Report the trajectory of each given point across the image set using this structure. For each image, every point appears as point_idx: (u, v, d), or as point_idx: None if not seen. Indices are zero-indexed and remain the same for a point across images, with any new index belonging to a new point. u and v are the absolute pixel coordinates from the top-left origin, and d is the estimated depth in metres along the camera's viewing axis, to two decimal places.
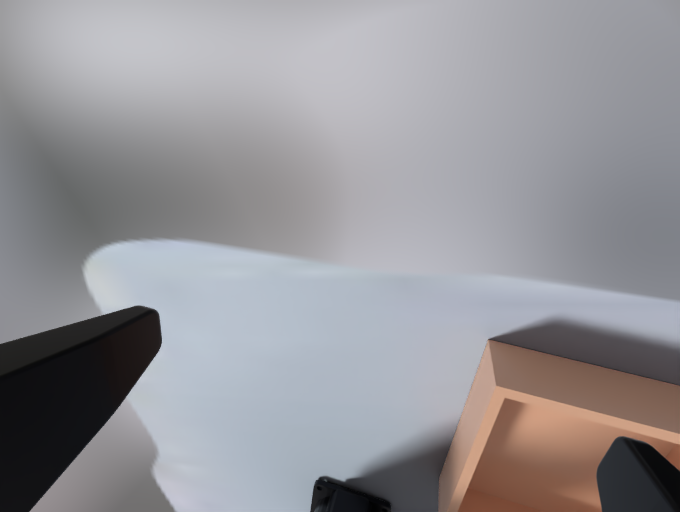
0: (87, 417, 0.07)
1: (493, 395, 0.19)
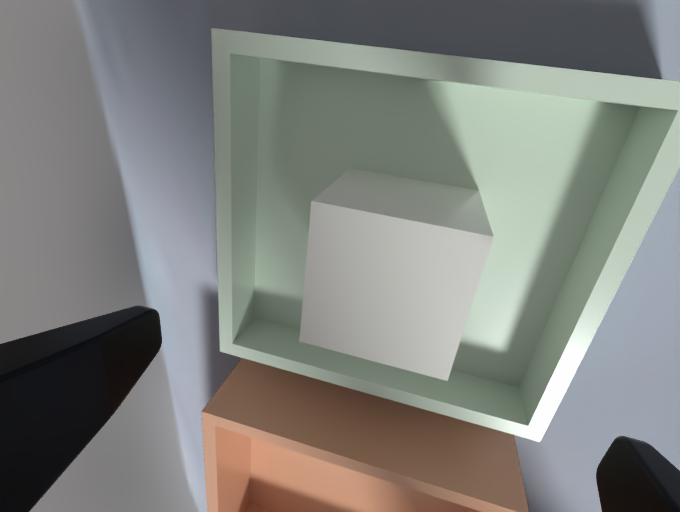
0: (87, 417, 0.07)
1: None
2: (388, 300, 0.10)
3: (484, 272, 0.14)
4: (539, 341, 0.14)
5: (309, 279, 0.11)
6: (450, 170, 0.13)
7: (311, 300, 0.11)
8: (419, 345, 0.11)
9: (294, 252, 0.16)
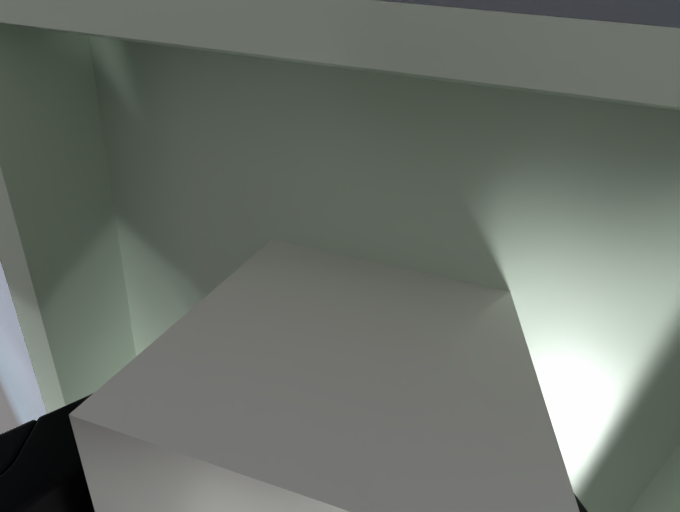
0: None
1: None
2: None
3: None
4: None
5: None
6: (455, 253, 0.07)
7: None
8: None
9: None
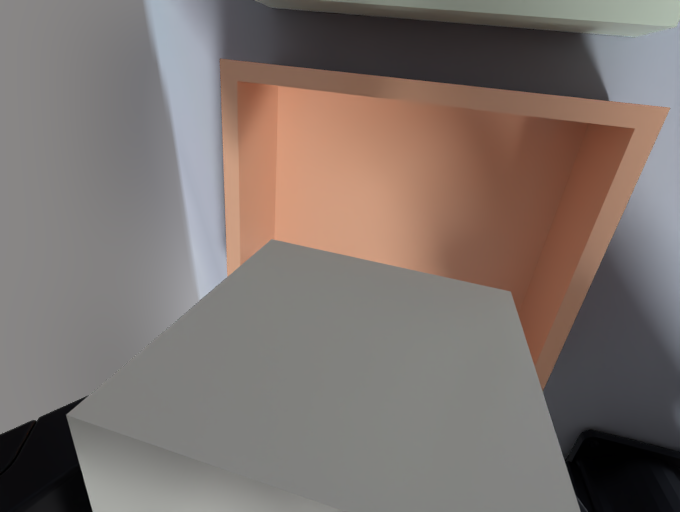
0: None
1: None
2: None
3: None
4: None
5: None
6: None
7: None
8: None
9: None
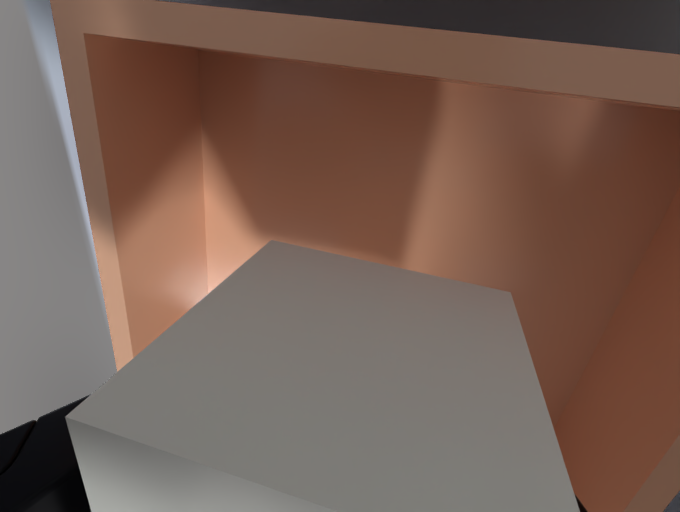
0: None
1: None
2: None
3: None
4: None
5: None
6: None
7: None
8: None
9: None
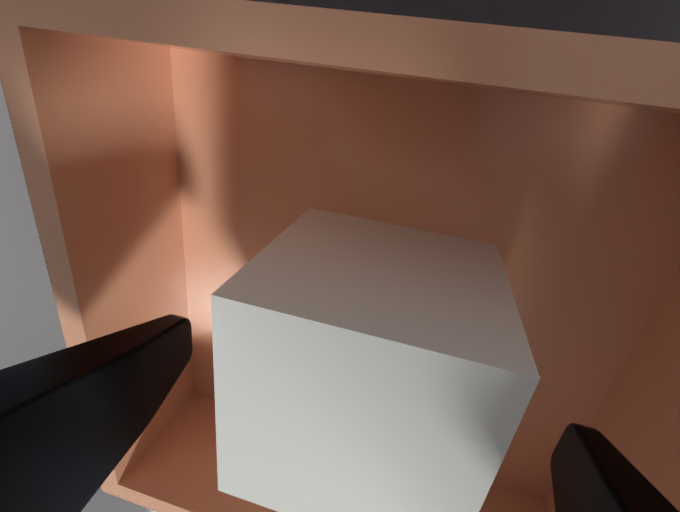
0: (124, 429, 0.07)
1: (122, 497, 0.10)
2: (350, 454, 0.06)
3: None
4: None
5: (223, 410, 0.06)
6: None
7: (229, 439, 0.07)
8: None
9: None
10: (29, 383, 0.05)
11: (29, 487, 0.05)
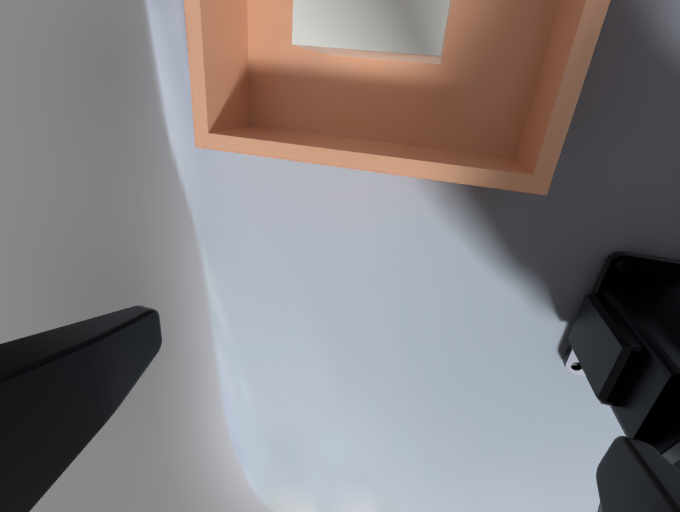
0: (87, 417, 0.07)
1: (210, 147, 0.15)
2: None
3: None
4: None
5: None
6: None
7: None
8: (411, 15, 0.11)
9: None
10: None
11: None
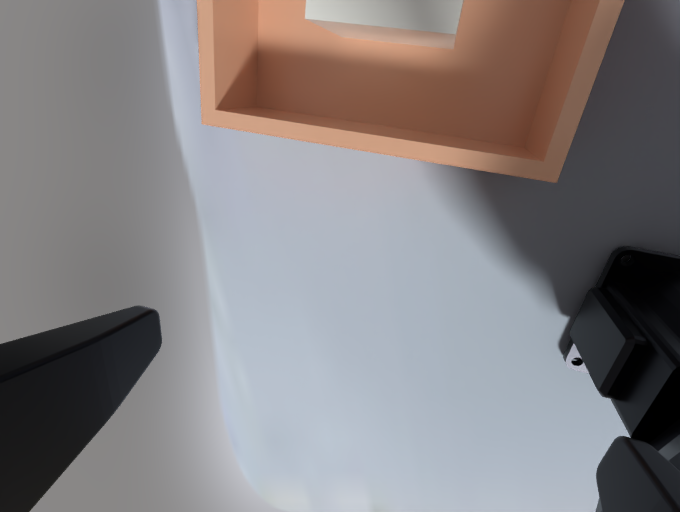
0: (87, 417, 0.07)
1: (217, 125, 0.15)
2: None
3: None
4: None
5: None
6: None
7: None
8: None
9: None
10: None
11: None
